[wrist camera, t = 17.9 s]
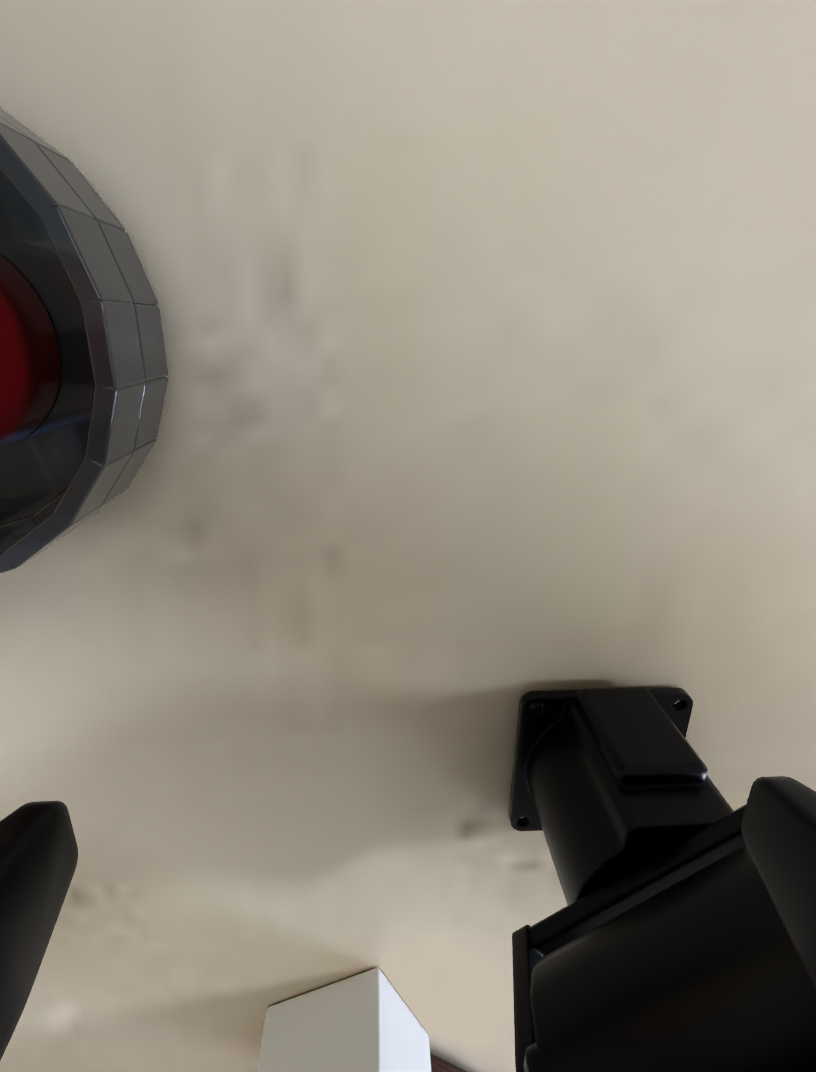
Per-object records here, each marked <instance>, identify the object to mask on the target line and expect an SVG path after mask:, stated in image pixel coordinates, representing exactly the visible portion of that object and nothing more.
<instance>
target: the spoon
mask: <svg viewBox="0 0 816 1072" xmlns="http://www.w3.org/2000/svg"><path fill="white" fill-rule="evenodd" d="M430 1060H431V1072H465V1071H463V1070H461V1069H459V1068H458V1067H456V1066H454V1065H452V1064H450V1063H448V1062H446V1061H444V1060H442V1059H440V1058H437V1057H435V1056H433V1055H430Z"/></svg>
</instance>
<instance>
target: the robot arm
mask: <svg viewBox="0 0 816 1072" xmlns="http://www.w3.org/2000/svg"><path fill="white" fill-rule="evenodd" d="M678 700H680V702H678V703H677V704H674V703H675V702H676V701H678ZM535 703H538V706H536V707H534V708H530V706H531V705H532V704H535ZM692 706H693V701H692V699H691V697H690V696H689V695H688V694H687V692H686V691H685V690H683V689H681V688H648V689H646V688H615V689H583V690H561V691H532V692H528V693H526V694H524V695H523V697H522V698H521V700H520V704H519V714H518V724H517V735H516V745H515V755H514V765H513V776H512V786H511V796H510V806H509V818H510V822H511V826H512V827H513V828H514V829H516V830H518V831H536V830H543V832H544V835H545V838H546V841H547V844H548V847H549V850H550V853H551V856H552V859H553V862H554V865H555V868H556V871H557V874H558V877H559V880H560V883H561V886H562V889H563V892H564V895H565V898H566V901H567V904H568V906H566V907H565V908H563V909H561V910H559V911H558V912H556V913H554V914H552V915H551V916H549V917H547V918H545V919H544V920H542V921H540V922H538V923H537V924H535V925H533V926H531V927H530V926H529V925H526V926H524V927H522V928H521V929H519V930H517V931H515V932H514V933H513V934H512V946H513V985H514V1025H515V1064H516V1072H816V792H815V791H813V790H812V789H810V788H808V787H806V786H805V785H803V784H801V783H800V782H798V781H796V780H794V779H792V778H789V777H784V776H781V777H760V778H758V779H756V780H755V781H754V782H753V785H752V787H751V791H750V794H749V798H748V799H747V804H746V805H744V806H742V807H741V808H739V809H737V810H735V811H733V810H732V808H731V807H730V806H729V804H728V803H727V802H726V800H725V799H724V798H723V796H722V795H721V793H720V792H719V791H718V789H717V788H716V787H715V785H714V784H713V783H712V781H711V780H710V779H709V777H708V776H707V775H706V774H707V767H706V766H705V764H704V763H703V762H702V760H701V759H700V758H699V756H698V755H697V754H696V752H695V751H694V750H693V748H692V747H691V746H690V744H689V743H688V742H687V740H686V739H685V737H686V732H687V728H688V724H689V719H690V715H691V710H692ZM521 817H524V818H521ZM77 859H78V847H77V843H76V839H75V835H74V831H73V828H72V824H71V820H70V816H69V812H68V809H67V807H66V805H65V804H64V803H63V802H60V801H41V802H30V803H27V804H25V805H23V806H21V807H20V808H18V809H17V810H15V811H14V812H13V813H11V814H10V815H8V816H7V817H6V818H4V819H3V820H1V821H0V1060H1V1058H2V1056H3V1054H4V1052H5V1049H6V1047H7V1045H8V1043H9V1041H10V1039H11V1037H12V1034H13V1032H14V1030H15V1028H16V1025H17V1023H18V1021H19V1018H20V1016H21V1014H22V1012H23V1009H24V1007H25V1004H26V1002H27V999H28V997H29V994H30V992H31V989H32V986H33V984H34V981H35V978H36V976H37V973H38V970H39V967H40V965H41V962H42V959H43V957H44V954H45V951H46V948H47V946H48V943H49V940H50V937H51V935H52V932H53V929H54V926H55V924H56V921H57V918H58V915H59V913H60V910H61V907H62V905H63V902H64V899H65V896H66V894H67V891H68V888H69V885H70V883H71V880H72V877H73V874H74V872H75V869H76V865H77Z"/></svg>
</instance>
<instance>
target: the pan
mask: <svg viewBox="0 0 816 1072" xmlns="http://www.w3.org/2000/svg"><path fill="white" fill-rule="evenodd" d="M0 255H1V256H2V257H4V258H5V259H6V260H7V261H8V262H9V263H11V264H12V265H13V266H14V267H15V268H16V269H17V270H18V272H19V273H20V274H21V275H22V276H23V277H24V278H25V279H26V280H27V282H28V283H29V284H30V286H31V287H32V288H33V289H34V291H35V292H36V294H37V295H38V297H39V299H40V300H41V302H42V304H43V305H44V307H45V309H46V311H47V313H48V315H49V317H50V320H51V322H52V325H53V328H54V331H55V334H56V337H57V342H58V346H59V352H60V363H61V368H60V381H59V386H58V392H57V394H56V397H55V400H54V403H53V405H52V407H51V409H50V411H49V413H48V415H47V416H46V417H45V419H44V420H43V421H42V423H41V424H40V425H39V426H38V427H37V428H36V429H35V430H34V431H33V432H32V433H31V434H29V435H28V436H26V437H25V438H23V439H22V440H20V441H18V442H16V443H14V444H12V445H10V446H7V447H4V448H1V449H0V573H3V572H6V571H9V570H13V569H15V568H17V567H19V566H21V565H22V564H24V563H25V562H27V561H28V560H30V559H31V558H32V557H34V556H35V555H37V554H38V553H40V552H41V551H43V550H44V549H46V548H47V547H49V546H50V545H52V544H53V543H54V542H56V541H58V540H59V539H60V538H62V537H63V536H65V535H66V534H68V533H69V532H71V531H72V530H74V529H75V528H77V527H78V526H80V525H81V524H83V523H84V522H85V521H87V520H88V519H89V518H91V517H92V516H93V515H94V514H96V513H97V512H98V511H100V510H101V509H102V508H103V507H105V506H106V505H107V504H109V503H110V502H111V501H112V500H114V499H115V498H116V497H118V496H119V495H120V494H121V493H123V492H124V490H125V489H127V488H128V487H129V485H130V483H131V482H132V480H133V478H134V477H135V475H136V473H137V472H138V470H139V468H140V467H141V465H142V463H143V462H144V460H145V458H146V457H147V455H148V453H149V452H150V450H151V448H152V447H153V445H154V443H155V442H156V438H157V434H158V429H159V423H160V418H161V413H162V408H163V402H164V397H165V392H166V386H167V381H168V378H167V377H166V376H167V375H168V371H167V363H166V356H165V348H164V341H163V333H162V326H161V318H160V310H159V307H158V306H157V305H158V302H157V300H156V297H155V295H154V293H153V291H152V288H151V286H150V284H149V281H148V279H147V277H146V275H145V272H144V270H143V268H142V265H141V263H140V261H139V259H138V256H137V254H136V252H135V249H134V247H133V245H132V243H131V240H130V238H129V236H128V234H127V233H126V232H125V228H124V227H123V226H122V224H121V223H120V222H119V221H118V219H117V218H116V217H115V216H114V214H113V213H112V212H111V211H110V209H109V208H108V207H107V205H106V204H105V203H104V202H103V200H102V199H101V198H100V197H99V195H98V194H97V193H96V192H95V190H94V189H93V188H92V187H91V185H90V184H89V183H88V182H87V180H86V179H85V178H84V177H83V175H82V174H81V173H80V172H79V170H78V169H77V168H76V166H75V165H74V164H73V163H71V162H70V160H69V159H68V158H67V157H65V156H64V155H63V154H61V153H60V152H59V151H57V150H56V149H55V148H53V147H52V146H51V145H49V144H48V143H47V142H45V141H44V140H43V139H41V138H40V137H39V136H37V135H36V134H34V133H33V132H32V131H30V130H29V129H28V128H26V127H25V126H24V125H22V124H21V123H20V122H18V121H17V120H16V119H14V118H13V117H12V116H10V115H9V114H8V113H6V112H5V111H4V110H2V109H1V108H0Z"/></svg>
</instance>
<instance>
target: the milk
mask: <svg viewBox="0 0 816 1072" xmlns="http://www.w3.org/2000/svg"><path fill="white" fill-rule="evenodd" d="M256 1072H431V1060H430V1046H429V1037H428V1035H427V1033H426V1032H425V1031H424V1029H423V1028H422V1026H421V1025H420V1024H419V1022H418V1021H417V1020H416V1018H415V1017H414V1016H413V1014H412V1013H411V1012H410V1010H409V1009H408V1007H407V1006H406V1005H405V1003H404V1002H403V1001H402V999H401V998H400V997H399V995H398V994H397V993H396V991H395V990H394V989H393V987H392V986H391V984H390V983H389V982H388V980H387V979H386V978H385V976H384V975H383V974H382V972H381V971H380V970H379V969H378V968H375V969H372V970H369V971H366V972H364V973H361V974H358V975H355V976H353V977H350V978H347V979H344V980H342V981H339V982H336V983H333V984H331V985H328V986H325V987H322V988H320V989H317V990H314V991H311V992H309V993H306V994H303V995H300V996H298V997H295V998H292V999H289V1000H287V1001H284V1002H281V1003H278V1004H276V1005H273V1006H270V1007H268V1008H267V1010H266V1014H265V1020H264V1026H263V1033H262V1039H261V1045H260V1051H259V1058H258V1064H257V1070H256Z"/></svg>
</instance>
